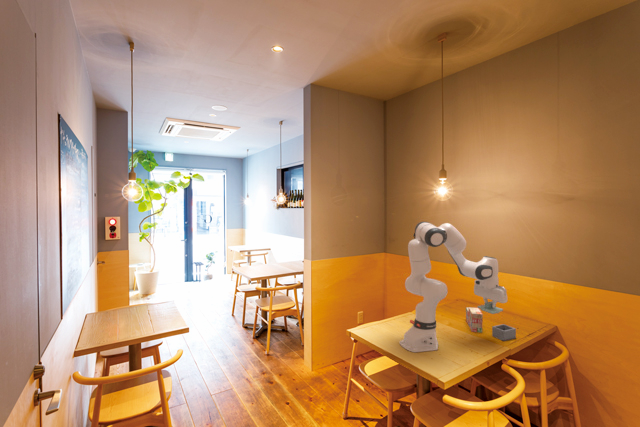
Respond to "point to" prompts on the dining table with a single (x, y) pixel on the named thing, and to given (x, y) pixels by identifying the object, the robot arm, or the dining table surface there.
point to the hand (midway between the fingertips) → (490, 306)
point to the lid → (490, 308)
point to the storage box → (503, 332)
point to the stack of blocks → (474, 319)
